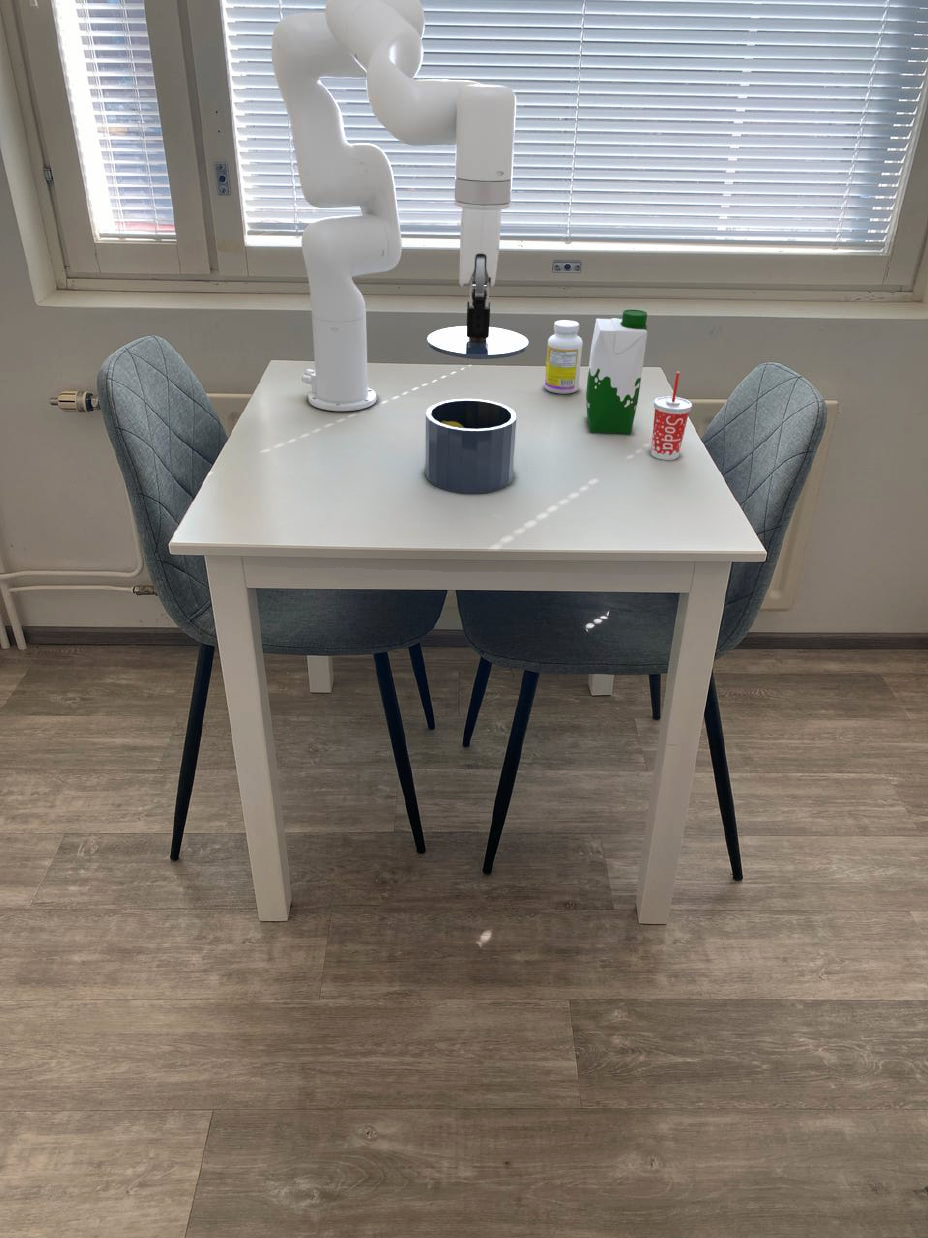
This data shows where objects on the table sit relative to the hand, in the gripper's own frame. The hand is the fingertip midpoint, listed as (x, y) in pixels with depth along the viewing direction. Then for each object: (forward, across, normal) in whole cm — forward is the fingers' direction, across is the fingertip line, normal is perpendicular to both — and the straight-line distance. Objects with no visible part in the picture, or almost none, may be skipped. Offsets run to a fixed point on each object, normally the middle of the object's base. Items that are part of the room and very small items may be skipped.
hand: (477, 332), depth 128 cm
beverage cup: (+22, -12, +32) cm, 41 cm away
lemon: (+21, 0, -1) cm, 21 cm away
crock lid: (+2, 0, 0) cm, 2 cm away
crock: (+22, 0, 0) cm, 22 cm away
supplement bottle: (+22, -43, +17) cm, 52 cm away
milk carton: (+22, -24, +24) cm, 41 cm away
